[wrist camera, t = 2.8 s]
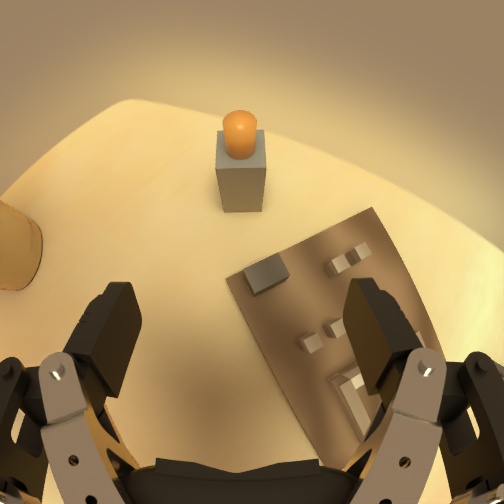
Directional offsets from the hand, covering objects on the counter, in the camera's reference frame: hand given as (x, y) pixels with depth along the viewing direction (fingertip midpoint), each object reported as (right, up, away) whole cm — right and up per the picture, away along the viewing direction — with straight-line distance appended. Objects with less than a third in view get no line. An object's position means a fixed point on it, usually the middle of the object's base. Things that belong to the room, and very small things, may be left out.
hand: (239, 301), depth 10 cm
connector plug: (0, +7, +17) cm, 19 cm away
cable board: (+10, -7, +14) cm, 18 cm away
